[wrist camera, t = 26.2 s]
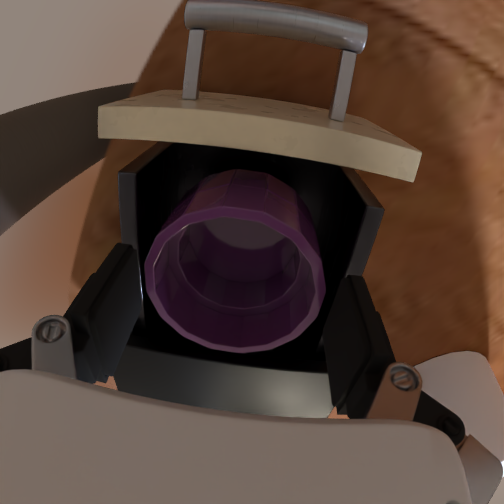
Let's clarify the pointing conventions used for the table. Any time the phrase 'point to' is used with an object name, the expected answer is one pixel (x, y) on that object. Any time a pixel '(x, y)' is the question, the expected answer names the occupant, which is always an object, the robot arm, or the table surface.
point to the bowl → (237, 264)
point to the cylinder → (468, 395)
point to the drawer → (258, 152)
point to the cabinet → (224, 379)
